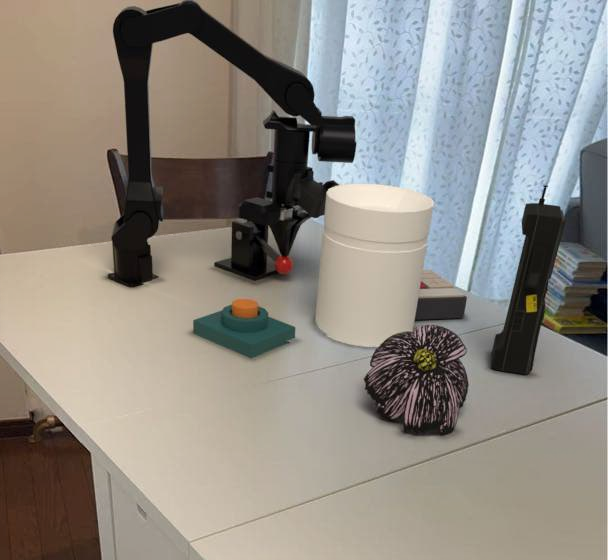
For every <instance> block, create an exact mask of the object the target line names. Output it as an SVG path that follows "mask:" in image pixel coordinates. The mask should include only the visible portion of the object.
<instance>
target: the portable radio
mask: <svg viewBox="0 0 608 560" xmlns="http://www.w3.org/2000/svg"><path fill="white" fill-rule="evenodd" d="M542 187H543V189H542V194H541V198H539V199H538V202H530V203H528V202H527V203H525V204H524V205H525V206H524V210H523V214H522V219H521V234H522V235H524V236H525V237H524V240H523V245H522V248H521V249H522V250H521V254H520V257H519V262H518V266H517V270H516V273H515V274H516V275H515V279H514V282H513V287H512V292H511V296H510V300H509V304H508V309H507V312H506V317H505V321H504V324H503V329H502V330H501V332H499V333H497V334H495V335H494V339H493V344H492V348H491V355H490V356H491V357H490V368H491V369H493V370H496V371H500V372H506V373H513V374H520V375H524V376H525V375H528V374H529V373H531V372H532V371H533V367H534V361H535V356H536V351H537V345H538V342H539V336H540V331H541V328H542V327H541V326H542V323H543V321H544V318H545V314H546V313H545V312H546V295H547V292H548V291H549V281H550V280H551V278H552V275H553V272H554V267H555V263H556V259H557V256H558V252H559V249H560V243H561V240H562V236H563V233H564V228H565V224H566V219H565V215H564V211H563V210H562V209H561V206H560V205H554V204H548V203H547V204H546V203H545V201H546V199H545V196H546V195H545V194H546V192H547V191H546V190H547V188H548V187H549V186H548V185H545V184H543V185H542Z"/></svg>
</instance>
